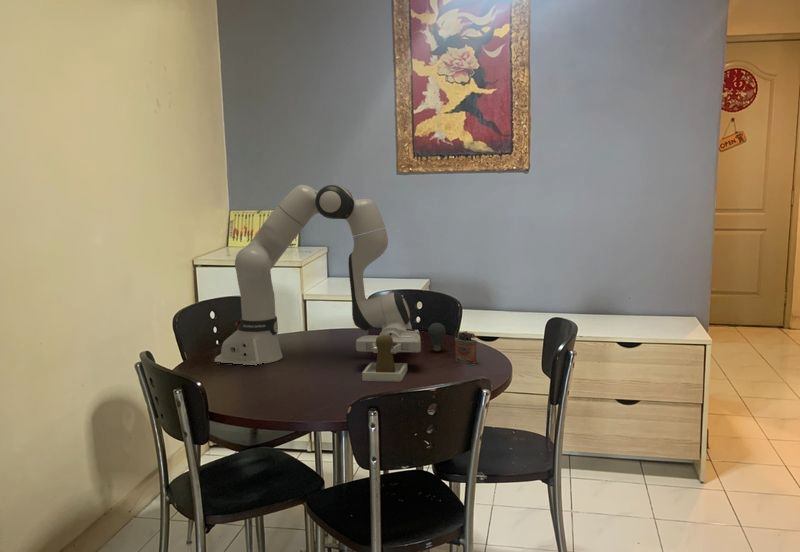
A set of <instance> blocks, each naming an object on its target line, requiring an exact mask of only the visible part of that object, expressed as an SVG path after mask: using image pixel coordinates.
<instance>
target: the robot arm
mask: <svg viewBox="0 0 800 552" xmlns="http://www.w3.org/2000/svg"><path fill="white" fill-rule="evenodd" d="M317 214H320V215H322V217H324V218H326V219H330V220H345V221H346V222H347V223H348V225H349V228H350V230H351V235H352V239H353V248H352V252H351V253H350V254H349V256H348V262H347V263H348V276H349V277H348V278H349V285H350V296H351V313H352V315H351V316H352V321H353V324H354V325H355V327H357V328H358V329H360V330H362V331H365V332H366V331H369V330H372V329H373V330H374V329H376V328H378V327H382V325H386V327H385V328H384V329H383V330H382V329H381V332H380V333H379V335H375V334H374V335H362V336H360V337H358V338H357V339H356V341H355V350H356V351H357V352H366V353H367V352H373V353H374V354H375V353H376V354H377V352H378V347H377V345H376V339H377V337H379V336H383V335H386V336H390V337H392V339H393V345H392V346H391V353H392V354H393V355H395V354H396V355H397V354H399V353H420V352H421V349H422V342H421V335H420V331H419V330H418V329H413V328H412V327H413V326H412V323H411V318H412V317H411V310H410V309H409V308H410V306H409V304H408V300H407V299H406V298H405V297H404V296H402V295H401V294H400V293H399V292H397V291H395V292H391V293H386V294H383V295H379V296H374V297H372V298H366V293H365V284H364V272H365V270H366V269H367V267H368V266H369V265H370V264H371V263H373V262H375V261H376V260H377V259H379V258H380V257H381V256H383V254H384V253H385V252H386V250H387V248H388V244H389V238H388V233H387V229H386V226H385V222H384V220H383V219H384V218H383V217H382V215H381V212H380V210H379V208H378V206H377V204H376V202H375V201H374V200H373V199H370V198H360V199H359V198H358V199H355V198H353V195H352V193H351V192H350V190H348V189H347V188H346V187H344V186H342V185H339V184H329V185H325V186H323V187H322V188H321V189H319V190H316V189H314V188H313V187H311V186H310V185H307V184H299V185H297V186H295V187H294V188H292V190H290V191H289V193H288V194H286V195H285V197H283V199H281V201H280V202H279V203H278V205H277V206H276V207H275V208H274V209H273V210H272V212H271V213H270V215H269V216H268V217H267V219H265V221H264V222H263V223H262V225H261V226H260V228H259V229H258V231H257V232H256V234H255V235H254V237H253V238H252V239H251V241H250V242H249V243H248V244H247V245H246V246H245V247H243V248H242V249H240V250H239V251H238V253H236V255H235V258H234V259H235V260H234V267H235V273H236V279H237V284H238V289H239V294H240V307H241V318H240V319H238V320H237V321H236V322H235V326H237V330H236V331H234V332H232V334H231V335H230V336H228V337H227V338H226V339H225V340H224V341H223V342H222V345H221V349H220V351H221V352H220V354H218V355H216V356H215V358H214V363H215V362H221V363H233V364H243V365H255V366H258V365H257V364H259V365H263V364H262V363H264V364H270V363H274V362H277V361H279V360H281V359H283V357H284V356H283V353H282V350H281V347H280V342H279V338H278V337H279V336H278V331H279V323H278V317H277V315H276V314H277V313H276V299H275V291H274V286H273V282H272V281H273V279H272V274H271V270H272V269H273V268H274V266H275V265H276V264H277V262H278V261H279V260H280V258H281V257H282V255H283V254H285V252H286V251H287V249H288V248H289V247H290V245H291V244H292V243H293V241H295V239H296V238H297V237H298V235H299V234H300V233H301V232H302V230H303V229H304V228H305V227H306V226H307V224H308V222H309V221H311V219H312V218H313V217H314V216H315V215H317ZM409 321H410V322H409ZM243 365H242V366H243Z"/></svg>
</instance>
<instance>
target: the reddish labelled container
mask: <svg viewBox="0 0 800 552" xmlns="http://www.w3.org/2000/svg"><path fill="white" fill-rule="evenodd" d="M457 336H458V337H455V338H454V342H455V358H454V362H455V361H456V363H458V362H459V364H462V363H464V364H463V365H468V364H476V365H477V364H478V361H477V344H478V341H477V340H476V339H474V338H475V337H476V335H475V333H473V332H468V331H466V330H465V331H458V333H457Z"/></svg>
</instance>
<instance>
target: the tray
mask: <svg viewBox="0 0 800 552" xmlns="http://www.w3.org/2000/svg"><path fill="white" fill-rule="evenodd" d="M376 362H377V361H376ZM376 362H374V361H371V362H370V363H369V364H367V366H366V367H365V368H364V370H363V371H362V372H361V378H362V381H363V382H387V383H388V382H389V383H390V382H391V383H393V382H395V383H402V380H403V379H404V378H405V375H406V374H407V373H408V363H407V362H394V366H395V372H394V373H382V372H376Z"/></svg>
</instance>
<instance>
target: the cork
mask: <svg viewBox="0 0 800 552" xmlns="http://www.w3.org/2000/svg"><path fill="white" fill-rule="evenodd" d="M378 336H379V335H378ZM376 345H377V347H378V352H377V353H376V354H377V355H376V372H382V373H394V372H395V366H394V363H395V362H394V354H392V353H391V346H392V345H393V339H392V337H390V336H386V335H383V336H379V337H377V339H376Z"/></svg>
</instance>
